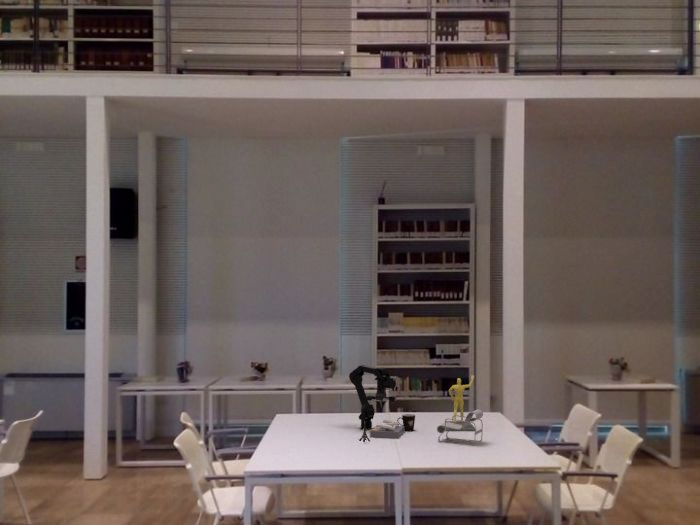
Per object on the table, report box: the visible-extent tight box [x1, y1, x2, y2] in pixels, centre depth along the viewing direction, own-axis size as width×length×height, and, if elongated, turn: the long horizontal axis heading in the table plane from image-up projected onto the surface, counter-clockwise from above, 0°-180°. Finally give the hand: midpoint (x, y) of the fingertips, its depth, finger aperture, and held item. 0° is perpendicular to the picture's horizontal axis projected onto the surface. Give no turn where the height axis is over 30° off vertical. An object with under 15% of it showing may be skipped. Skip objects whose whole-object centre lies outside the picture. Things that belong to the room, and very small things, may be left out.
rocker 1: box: [378, 423, 396, 429], centre depth 502 cm, size 10×4×1 cm, turn 76°
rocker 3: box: [384, 421, 398, 426], centre depth 509 cm, size 10×4×1 cm, turn 77°
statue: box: [446, 375, 475, 432], centre depth 531 cm, size 20×19×36 cm
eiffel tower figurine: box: [358, 421, 371, 443], centre depth 489 cm, size 15×10×13 cm
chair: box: [436, 408, 484, 446], centre depth 486 cm, size 13×25×20 cm, turn 62°
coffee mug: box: [396, 413, 416, 432], centre depth 524 cm, size 12×9×10 cm
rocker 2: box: [382, 419, 400, 426], centre depth 515 cm, size 10×4×1 cm, turn 76°
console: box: [369, 424, 406, 440], centre depth 509 cm, size 18×22×5 cm
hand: (381, 411), depth 520 cm, fingers closed
